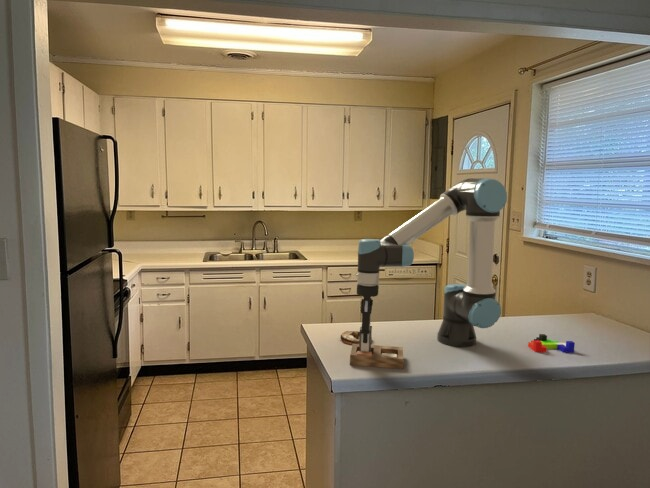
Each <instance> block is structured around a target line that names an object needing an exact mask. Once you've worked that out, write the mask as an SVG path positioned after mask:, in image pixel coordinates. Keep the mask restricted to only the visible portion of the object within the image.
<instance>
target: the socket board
mask: <svg viewBox="0 0 650 488" xmlns="http://www.w3.org/2000/svg"><path fill="white" fill-rule="evenodd" d="M349 366H363V367H373V368H375V367H376V368H388V369H398V370H402V369H403V368H404V347H402V346H391V345H390V346H389V345H378V344H371V352H362V351H359V344H353V345H352V346H351V350H350V354H349Z"/></svg>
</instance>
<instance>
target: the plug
mask: <svg viewBox="0 0 650 488" xmlns="http://www.w3.org/2000/svg"><path fill="white" fill-rule="evenodd" d="M370 323H371V321H370V322H369V352H371V345H372V342H371V337H372V333H373V332H372V331H373V326H372V327H370V326H371V324H370ZM360 331H362V326H360V327H359V332H360ZM361 334H362V333H360V337H359V351H361ZM362 352H364V351H362Z"/></svg>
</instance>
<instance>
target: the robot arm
mask: <svg viewBox="0 0 650 488" xmlns="http://www.w3.org/2000/svg"><path fill="white" fill-rule="evenodd" d="M507 193H508V192H507V190H506V186H504V185H503V184H502V182H501V181H499V180H497V179H493V178H488V177H485V178H466V179H463V180H461V181H459V182H458V183H456V184H454V185H453V186H451V187H449V188H448V189H447V190H446V191H444V192H443V193H441V194H440V196H439V199H437V200H436V201H435V202H433V203H432V204H430V205H429V206H427V207H426V208H425V209H423V210H422V211H420V212H419V213H418V214H416V215H415V216H413V217H412V218H410V219H409V220H407V221H406V222H404V223H403V224H402V225H400V226H398V228H396V229H395V230H393V231H392V232H390V233H388V234H387V235H385V236H384V237H383V238H378V239H377V238H375V239H374V238H363V239H359V242H358V248H357V273H356V274H355V277H356V281H357V284H356V294H357V296H359V297H363V298H361V301H360V305H361V309H360V310H361V313H360V314H362V316H361V327H362V331H360V330H359V332H360V333H362V334H361V351H364V352H369V322H370V327H372V328H373V326H372V325H371V324H372V323H371V315H372V312H373V311H372V310H373V306H374V305H373V303H374V299H372V298H373V297H374V298H375V297H377V296H378V295H379V282H380V267H382V268H384V267H389V268H390V267H392V268H393V267H395V268H398V267H401V268H403V267H410V266H412V264H413V262H414V260H415V259H414V258H415V252H414V250H413V247H412V246H411V244H412V243H413V242H414V241H416V240H418V238H419V239H420V237H422V236H423V235H425V234H426V233H428V232H429V231H431V229H433V228H434V227H436V226H438V225H439V224H440V223H442V222H443V221H445V220H446V219H447V218H449V217H450V216H456V215H458V214H459V213H461V212H463V211H465V216H466V218H468V219H469V237H468V240H469V242H468V263H467V281H466V282H467V283H453V284H452V283H451V284H447V285H446V286H445V287H444V288H445V289H444V293H443V295H444V296H443V313H442V321H441V324H440V327H439V329H438V331H437V341H438V342H440V343H442V344H444V345H448V346H452V347H463V348H466V347H472V346H475V345H476V344H477V335H476V331H475V327H476V328H479V329H488V328H491V327H492V326H494V324H495V323H497V322H498V321H499V319H500V318H501V314H502V307H501V305H500V303H499V301H498V300H497V299H496V296H497V293H496V291H497V290H496V289H495V288H494V287H493V266H494V265H493V264H494V250H495V249H494V247H495V246H494V245H495V227H496V220H498V219H499V218H500V215H501V213H500V212H501V210H502V209H503V208H504V207H505V206H506V204H507V201H508V194H507Z"/></svg>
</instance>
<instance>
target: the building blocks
mask: <svg viewBox="0 0 650 488" xmlns="http://www.w3.org/2000/svg"><path fill="white" fill-rule="evenodd" d="M575 343H576V342H574V341H573V340H566V341H565V342H559V340H552V339H550V338H549V339H548V335H547V334H545V333H539V335H538V336H537V337H536V338H534V339H533V340H530V341H529V342H528V343H527V347H528V348H529V349H531V350H532V351H534V353H547V351H548V349H549V350H552V349H553V350H554V349H555V350H558V351H559V352H561V353H565V354H566V353H567V354H568V353H569V354H570V353H571V354H574V352H575V345H576V344H575Z"/></svg>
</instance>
